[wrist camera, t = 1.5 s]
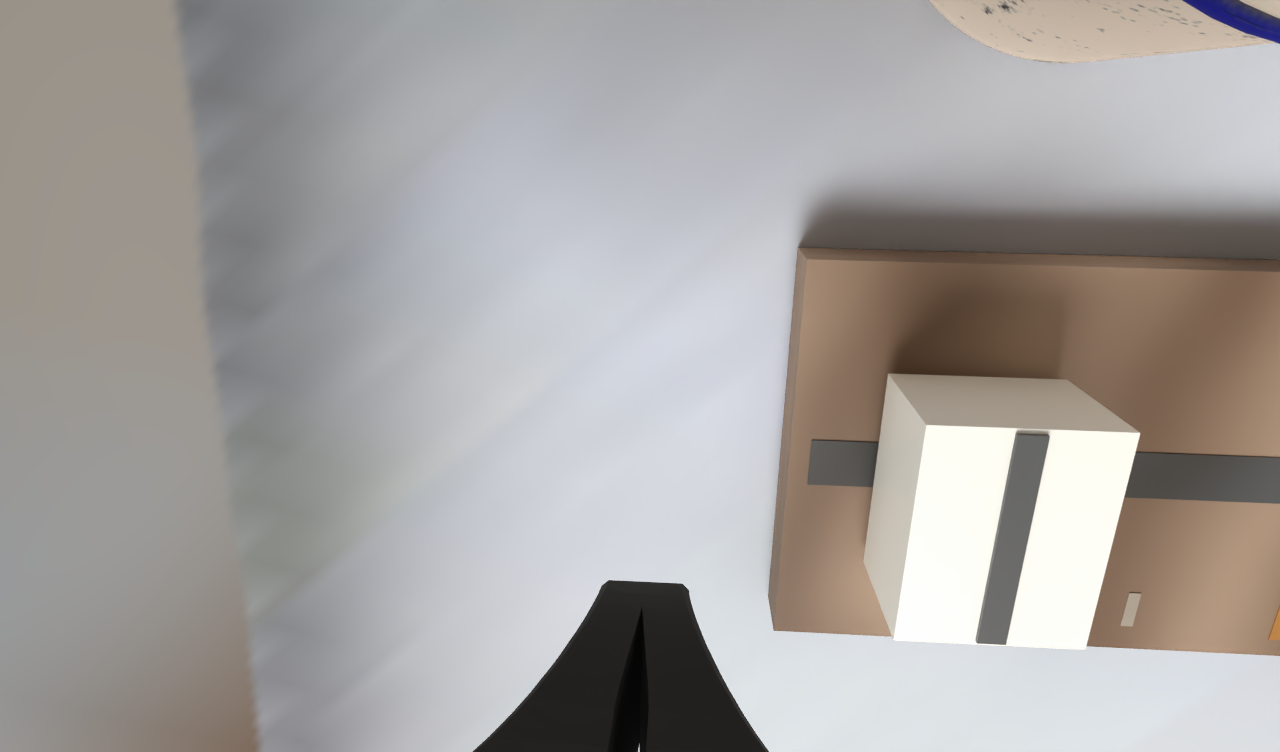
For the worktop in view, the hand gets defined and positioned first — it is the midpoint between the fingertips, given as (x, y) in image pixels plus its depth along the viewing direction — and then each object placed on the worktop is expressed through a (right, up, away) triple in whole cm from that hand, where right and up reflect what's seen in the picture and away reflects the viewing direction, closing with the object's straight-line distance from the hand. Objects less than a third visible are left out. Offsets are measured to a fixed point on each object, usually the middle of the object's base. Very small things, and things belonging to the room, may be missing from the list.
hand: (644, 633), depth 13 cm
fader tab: (+8, +2, +6) cm, 10 cm away
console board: (+13, +2, +7) cm, 15 cm away
